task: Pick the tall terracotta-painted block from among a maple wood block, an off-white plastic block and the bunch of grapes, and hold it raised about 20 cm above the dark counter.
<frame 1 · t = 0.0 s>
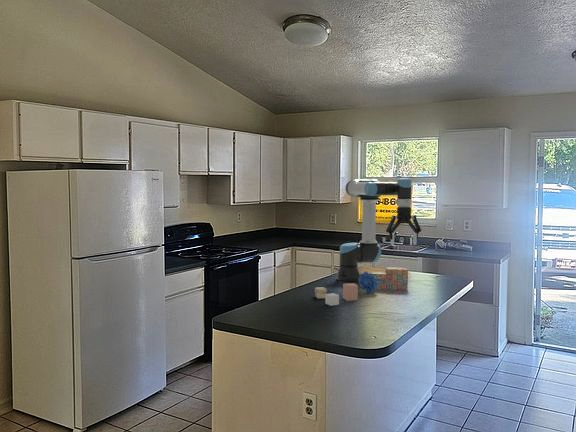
hand: (403, 244, 279), 28 cm above the table, tool pointing down, fingers open, 13 cm apart
maple block: (320, 297, 275), on the table
off-white plastic block: (332, 304, 260), on the table
grapes: (367, 293, 286), on the table
stack of blocks: (388, 289, 298), on the table
terracotta block: (350, 299, 270), on the table
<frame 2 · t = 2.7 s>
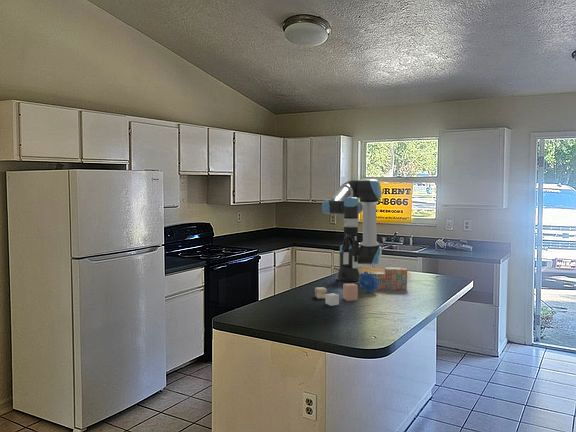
hand: (350, 266, 269), 18 cm above the table, tool pointing down, fingers open, 13 cm apart
nothing on the table moved.
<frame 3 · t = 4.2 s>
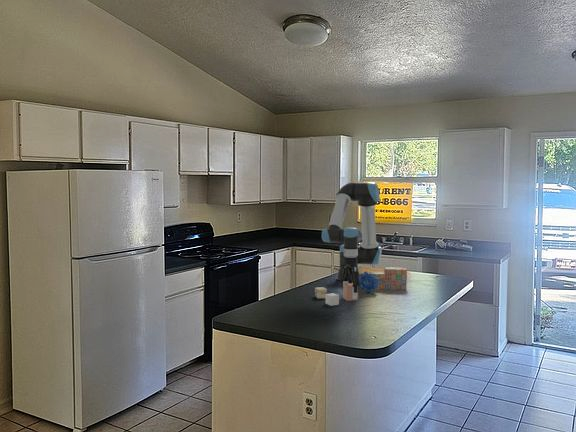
hand: (350, 295, 270), 2 cm above the table, tool pointing down, fingers open, 13 cm apart
nothing on the table moved.
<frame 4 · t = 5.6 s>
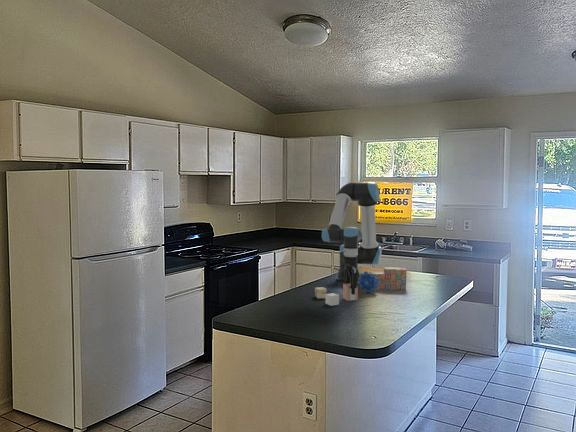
hand: (350, 298, 270), 0 cm above the table, tool pointing down, fingers closed on terracotta block, 6 cm apart
terracotta block: (350, 299, 270), on the table, touching gripper
everything else where it was.
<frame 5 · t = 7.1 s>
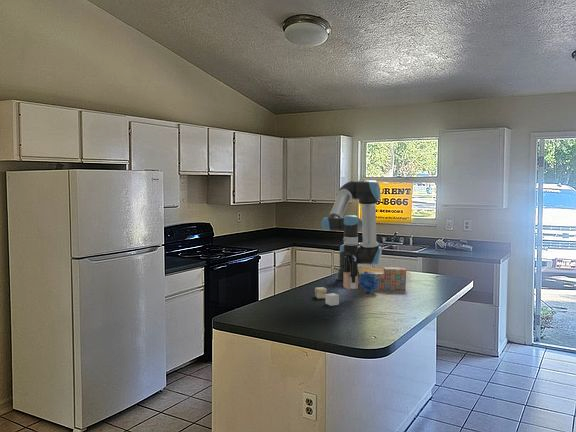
hand: (350, 287, 270), 6 cm above the table, tool pointing down, fingers closed on terracotta block, 6 cm apart
terracotta block: (350, 287, 270), point 6 cm above the table, touching gripper
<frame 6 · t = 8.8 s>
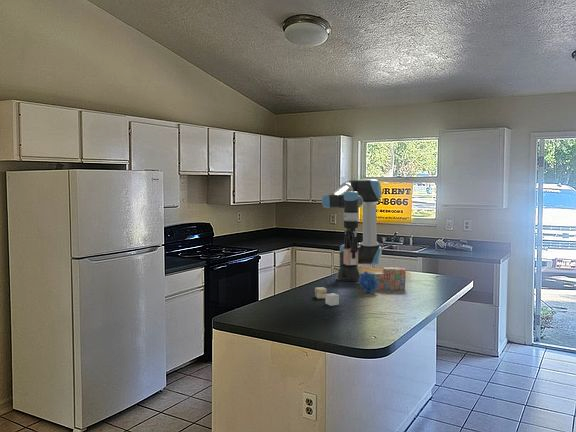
hand: (350, 263, 269), 19 cm above the table, tool pointing down, fingers closed on terracotta block, 6 cm apart
terracotta block: (350, 264, 269), point 19 cm above the table, touching gripper
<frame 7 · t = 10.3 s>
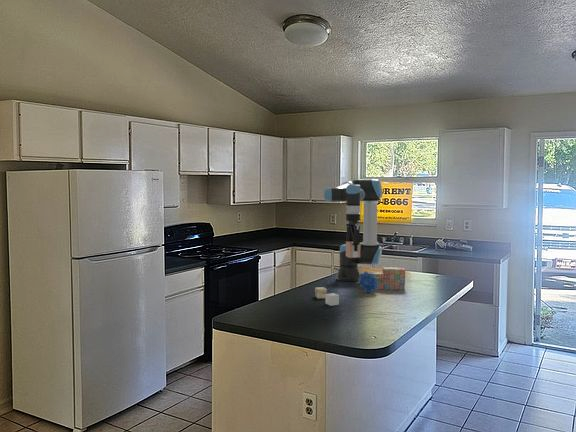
hand: (352, 256, 271), 23 cm above the table, tool pointing down, fingers closed on terracotta block, 6 cm apart
terracotta block: (352, 256, 271), point 23 cm above the table, touching gripper
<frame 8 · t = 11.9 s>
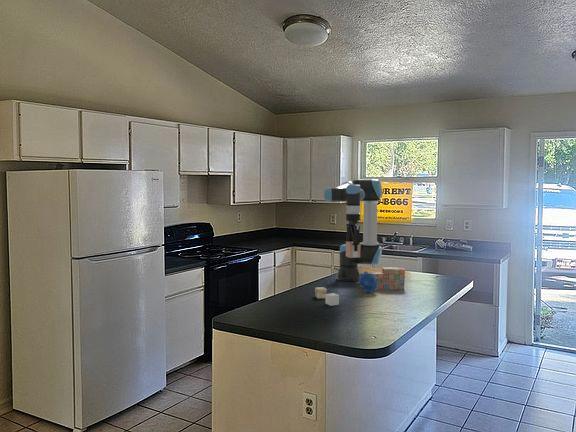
hand: (352, 256, 271), 23 cm above the table, tool pointing down, fingers closed on terracotta block, 6 cm apart
terracotta block: (352, 256, 271), point 23 cm above the table, touching gripper
at the end: the gripper is holding terracotta block; terracotta block point 22.6 cm above the table; off-white plastic block moved 0.1 cm from its start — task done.
